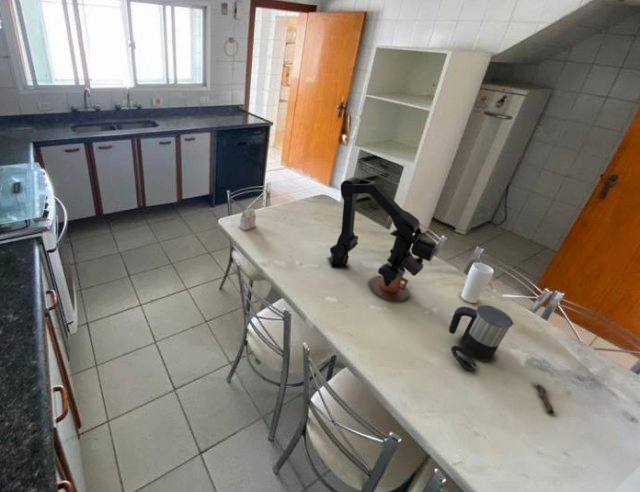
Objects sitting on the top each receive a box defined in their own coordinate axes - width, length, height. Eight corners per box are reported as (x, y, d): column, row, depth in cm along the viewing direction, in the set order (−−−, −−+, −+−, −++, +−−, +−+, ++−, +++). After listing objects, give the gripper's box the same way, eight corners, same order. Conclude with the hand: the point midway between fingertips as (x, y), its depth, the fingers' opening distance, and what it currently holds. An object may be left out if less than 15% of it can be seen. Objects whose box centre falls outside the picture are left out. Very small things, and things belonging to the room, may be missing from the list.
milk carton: (240, 227, 167) (241, 210, 163) (250, 223, 171) (251, 206, 167) (244, 230, 165) (245, 213, 160) (254, 226, 169) (256, 209, 164)
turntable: (377, 301, 124) (378, 299, 123) (364, 277, 136) (365, 275, 136) (414, 302, 124) (414, 300, 124) (397, 278, 137) (398, 276, 136)
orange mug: (376, 286, 129) (382, 267, 125) (384, 278, 134) (389, 259, 130) (400, 298, 124) (406, 279, 120) (407, 289, 128) (413, 270, 124)
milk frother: (488, 342, 108) (506, 309, 102) (506, 384, 95) (528, 349, 88) (440, 330, 112) (455, 297, 106) (451, 368, 99) (468, 333, 92)
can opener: (553, 414, 87) (555, 412, 87) (542, 410, 88) (544, 407, 88) (543, 387, 95) (545, 384, 94) (533, 383, 96) (535, 380, 95)
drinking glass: (482, 306, 124) (497, 275, 117) (462, 303, 125) (477, 271, 118) (474, 294, 130) (489, 263, 123) (455, 291, 131) (469, 260, 124)
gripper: (414, 269, 110) (402, 304, 117) (432, 248, 123) (420, 281, 129) (382, 254, 117) (372, 288, 124) (402, 236, 129) (392, 268, 136)
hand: (390, 281), depth 128 cm, fingers closed on orange mug, 7 cm apart
